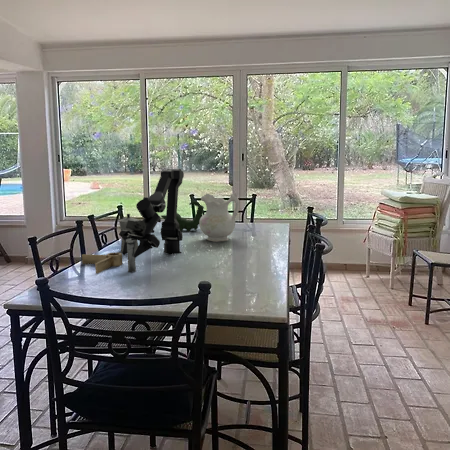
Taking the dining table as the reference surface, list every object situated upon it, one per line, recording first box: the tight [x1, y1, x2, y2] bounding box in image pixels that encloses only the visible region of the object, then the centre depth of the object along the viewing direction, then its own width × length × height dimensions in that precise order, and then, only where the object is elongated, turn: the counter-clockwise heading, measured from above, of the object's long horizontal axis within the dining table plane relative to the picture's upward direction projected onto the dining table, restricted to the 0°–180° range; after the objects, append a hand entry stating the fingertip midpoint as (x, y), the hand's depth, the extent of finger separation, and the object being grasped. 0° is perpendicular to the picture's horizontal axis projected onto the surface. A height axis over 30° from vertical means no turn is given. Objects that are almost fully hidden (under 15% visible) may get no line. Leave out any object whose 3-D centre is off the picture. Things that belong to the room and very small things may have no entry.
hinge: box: [81, 251, 124, 274], centre depth 190 cm, size 14×19×4 cm
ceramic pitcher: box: [198, 193, 240, 243], centre depth 241 cm, size 22×20×25 cm
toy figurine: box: [160, 200, 205, 232], centre depth 267 cm, size 9×19×25 cm
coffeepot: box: [118, 213, 139, 254], centre depth 216 cm, size 15×9×18 cm, turn 33°
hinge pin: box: [126, 239, 137, 273], centre depth 181 cm, size 4×4×13 cm
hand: (128, 255), depth 180 cm, fingers open, 6 cm apart
